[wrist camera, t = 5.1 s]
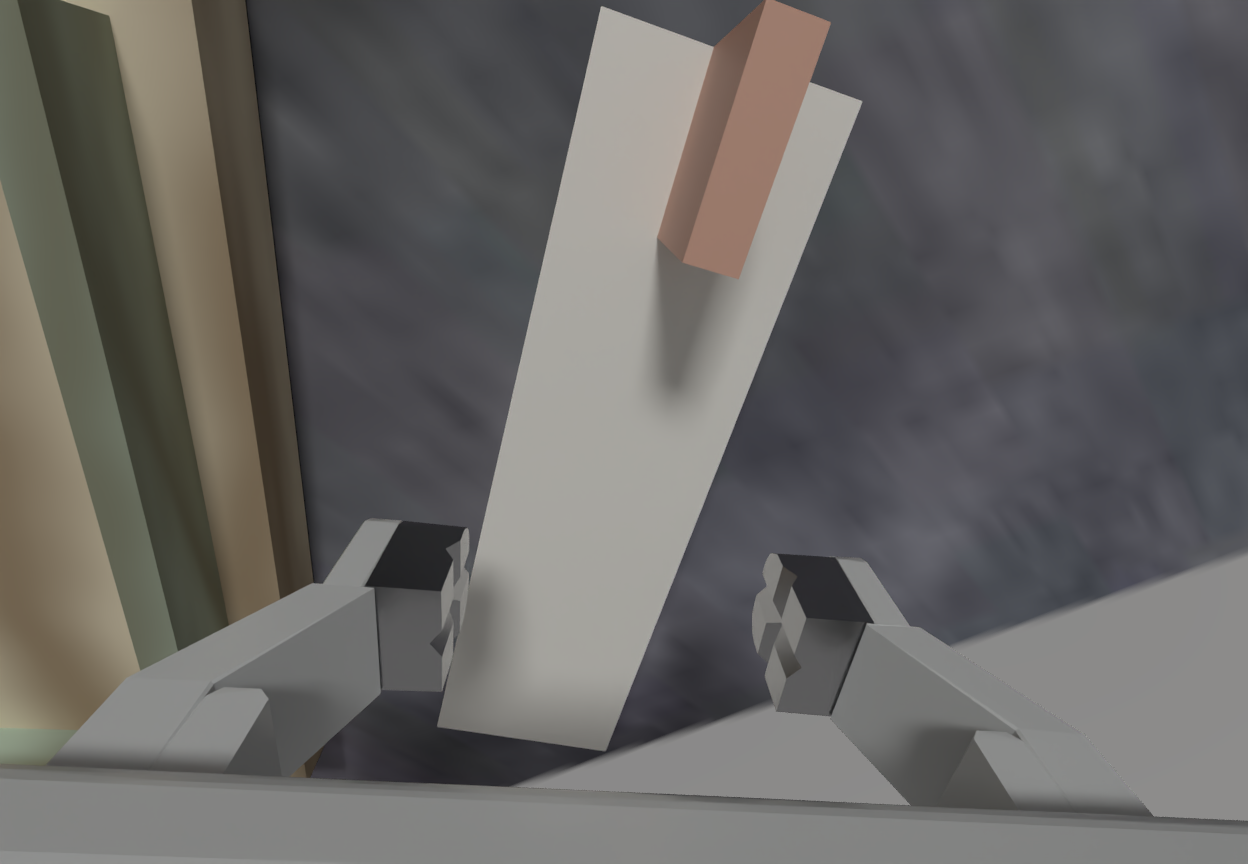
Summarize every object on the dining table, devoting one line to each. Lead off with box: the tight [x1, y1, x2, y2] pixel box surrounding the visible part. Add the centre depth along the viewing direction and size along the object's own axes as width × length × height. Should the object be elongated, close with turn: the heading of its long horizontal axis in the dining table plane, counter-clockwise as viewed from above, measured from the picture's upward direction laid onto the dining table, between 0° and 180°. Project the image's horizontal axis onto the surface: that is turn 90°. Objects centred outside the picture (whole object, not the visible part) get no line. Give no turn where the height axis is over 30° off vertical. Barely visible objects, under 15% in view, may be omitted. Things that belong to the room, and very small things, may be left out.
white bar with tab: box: [437, 0, 862, 751], centre depth 13 cm, size 4×16×8 cm, turn 164°
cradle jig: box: [0, 0, 325, 778], centre depth 14 cm, size 12×23×4 cm, turn 173°
